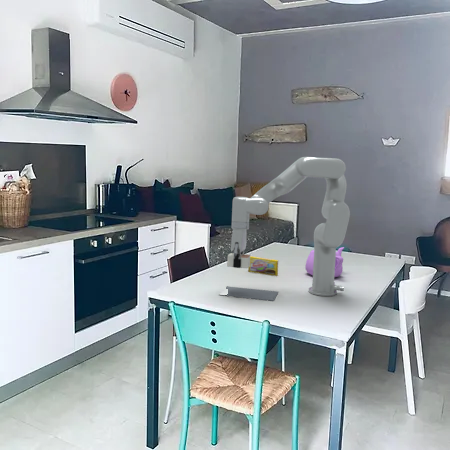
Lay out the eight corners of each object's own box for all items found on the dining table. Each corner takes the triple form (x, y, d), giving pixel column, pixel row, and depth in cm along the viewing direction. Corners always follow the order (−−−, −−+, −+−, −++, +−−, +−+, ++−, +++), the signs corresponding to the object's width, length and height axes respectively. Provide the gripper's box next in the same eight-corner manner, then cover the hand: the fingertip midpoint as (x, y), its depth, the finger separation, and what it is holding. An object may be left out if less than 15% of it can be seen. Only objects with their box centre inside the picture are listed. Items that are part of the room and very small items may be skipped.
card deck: (230, 264, 207) (230, 253, 206) (249, 266, 204) (250, 254, 204) (227, 266, 202) (227, 255, 201) (247, 268, 199) (247, 257, 199)
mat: (278, 292, 207) (278, 291, 207) (273, 301, 194) (273, 300, 194) (226, 287, 213) (226, 286, 213) (218, 295, 200) (218, 294, 200)
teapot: (329, 283, 226) (331, 253, 224) (300, 273, 243) (301, 245, 241) (360, 277, 238) (363, 249, 236) (330, 269, 256) (332, 242, 253)
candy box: (247, 272, 244) (248, 256, 243) (249, 271, 246) (250, 255, 245) (276, 276, 236) (277, 260, 235) (278, 275, 238) (278, 259, 237)
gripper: (236, 222, 210) (234, 261, 212) (226, 227, 193) (225, 269, 196) (252, 223, 208) (250, 263, 210) (244, 228, 191) (242, 271, 194)
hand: (238, 265), depth 203 cm, fingers closed on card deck, 5 cm apart
